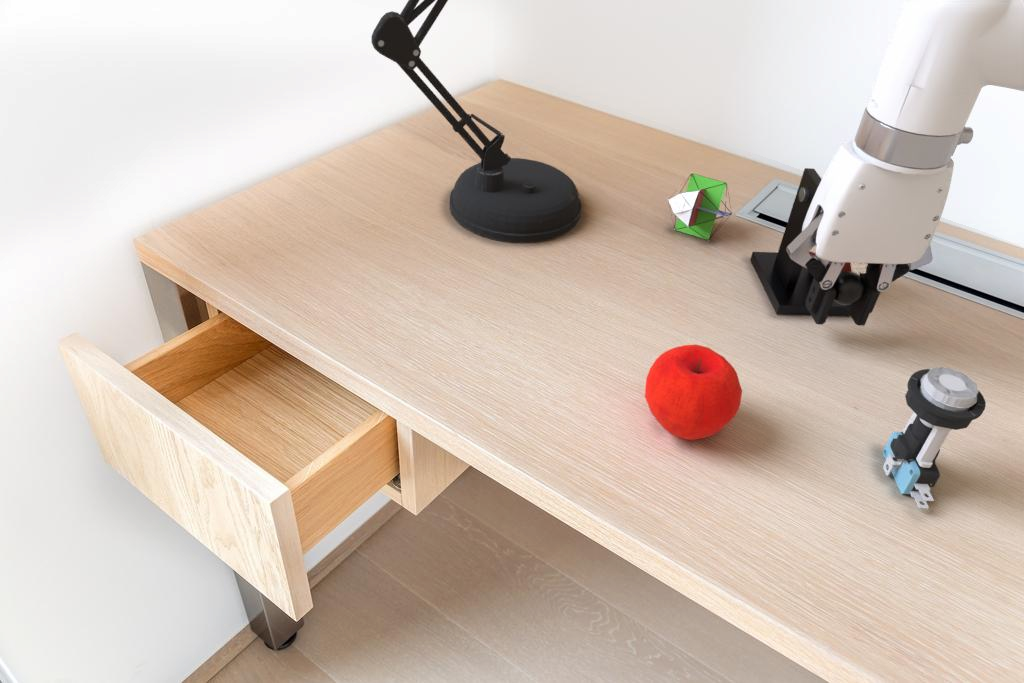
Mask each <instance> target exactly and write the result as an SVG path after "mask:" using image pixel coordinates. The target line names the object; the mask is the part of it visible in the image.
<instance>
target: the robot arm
mask: <svg viewBox="0 0 1024 683" xmlns="http://www.w3.org/2000/svg"><path fill="white" fill-rule="evenodd" d="M986 86H995V87H1001V88H1006V89H1010V90H1015V91H1016V90H1017V91H1020V92H1024V0H903V1H902V4H901V7H900V10H899V13H898V15H897V18H896V20H895V24H894V26H893V29H892V32H891V35H890V38H889V41H888V44H887V47H886V50H885V52H884V55H883V58H882V60H881V64H880V66H879V69H878V71H877V74H876V77H875V80H874V82H873V86H872V89H871V92H870V94H869V98H868V100H867V102H866V106H865V108H864V111H863V114H862V117H861V120H860V122H859V125H858V127H857V131H856V134H855V136H854V139H850V140H849V139H847V140H844V141H843V142H842V144H841V145H840V146H839V148H838V150H837V151H836V152H835V154H834V156H833V158H832V159H831V161H830V163H829V165H828V166H827V168H826V170H825V171H824V174H823V175H822V177H821V179H822V180H821V182H820V184H819V186H818V188H817V191H816V193H815V195H814V197H813V200H812V202H811V205H810V207H809V209H808V212H807V214H806V217H805V220H804V223H803V227H802V232H801V233H800V234H799V235H798V236H797V237H796V238H795V239H794V240H793V241H792V242H791V243H790V244H789V245H788V246H787V248H786V251H787V253H788V255H789V257H790V258H791V259H792V260H793V261H795V262H796V263H798V264H799V265H801V266H804V267H805V268H807V269H808V271H809V272H810V273H811V275H812V276H813V277H814V279H813V282H812V284H811V287H810V290H809V293H808V295H807V298H806V308H807V310H808V311H809V312H810V314H811V315H810V316H811V317H812V319H813V321H814V323H815V325H824V324H825V323H826V321H827V319H828V317H829V316H828V314H829V311H830V308H831V306H832V303H833V301H834V298H835V296H836V290H835V288H834V286H833V285H834V283H835V281H836V279H837V278H838V276H839V274H840V272H841V270H842V268H843V266H844V264H845V263H846V262H849V263H851V264H852V263H853V264H867V265H866V269H865V273H864V272H863V273H862V272H861V273H859V275H860V276H861V277H862V279H863V280H864V283H865V293H864V295H863V297H862V298H861V299H860V300H859V301H858V302H856V303H854V304H852V305H846V309H847V311H848V312H849V314H850V315H851V316H850V318H852V321H853V322H854V324H855V325H856V326H860V327H861V326H863V327H864V326H865V325H866V323H867V320H868V318H869V315H870V314H872V313H873V311H874V308H875V306H876V304H877V301H878V299H879V297H880V294H881V293H883V292H886V291H887V290H889V289H890V287H891V286H892V283H893V282H895V281H896V280H898V279H900V278H901V277H903V276H905V275H906V274H908V273H909V272H910V271H913V270H917V269H919V268H921V267H924V266H927V265H929V264H931V263H932V261H933V252H932V246H931V242H932V240H933V238H934V236H935V233H936V231H937V228H938V226H939V223H940V220H941V218H942V215H943V213H944V209H945V206H946V203H947V200H948V195H949V192H950V188H951V183H952V179H953V173H954V165H955V162H954V161H953V158H952V157H953V156H954V153H955V151H956V149H957V147H958V146H959V145H962V144H965V145H967V144H970V143H971V141H972V140H973V137H974V130H973V128H972V127H970V126H966V124H967V122H968V120H969V118H970V116H971V113H972V111H973V108H974V106H975V104H976V102H977V99H978V97H979V95H980V93H981V91H982V88H984V87H986ZM815 246H816V247H815ZM814 247H815V250H816V252H815V251H814V252H813V251H811V250H812V249H813V248H814ZM814 253H816V255H815V254H814Z"/></svg>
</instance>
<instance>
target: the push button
mask: <svg viewBox="0 0 1024 683" xmlns="http://www.w3.org/2000/svg"><path fill="white" fill-rule="evenodd" d="M906 386H907V391H906V393H905V395H904V397H905V402H906V405H907V407H909V409H911V411H912V414H911V416H910V417H909V420H908V421H907V422H906V423H907V424H906V425H905V426H904V427H903V428H902V430H901V431H892V433H891V434H890V436H889V439H888V440H887V443H886V444H885V446H884V447H883V450H882V455H883V458H884V460H885V461H884V463H883V466H882V469H883V471H884V474H885V475H886V476H887V477H888V476H890V474H892V477H893V479H894V481H895V484H896V486H897V488H898V490H899V492H900V494H901V495H910V496H911V498H913V499H914V501H915V503H916V506H917V507H918V508H919V509H925V510H929V508H930V506H929V505H928V502H934V501H935V499H934V498H933V496H932V493H931V488H934V487H935V486H936V484H937V482H938V481H939V479H940V477H941V471H940V470H939V468H938V466H937V464H936V460H937V458H938V456H939V454H940V451H941V448H942V445H943V444H944V442H945V440H946V439H947V437H948V435H949V434H950V432H951V430H952V431H953V430H954V431H957V430H963V429H967V428H968V427H969V426H970V425H971V423H972V421H974V420H977V419H978V418H981V416H982V414H983V413H984V412H985V409H986V405H987V404H986V400H985V398H984V395H983V394H982V392H981V390H979V388H978V386H977V383H976V382H975V381H974V380H973V379H972V378H971V377H970V376H969V375H967V374H965V373H964V372H962V371H960V370H957V369H954V368H951V367H947V366H935V367H932V368H925V369H920V370H917V371H915V372H914V373H913V374H911V375H910V378H909V379H908V381H907V385H906ZM926 495H927V496H928V497H927V496H926ZM920 502H921V503H923V504H921V503H920Z"/></svg>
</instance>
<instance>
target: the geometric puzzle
mask: <svg viewBox="0 0 1024 683" xmlns="http://www.w3.org/2000/svg"><path fill="white" fill-rule="evenodd" d="M687 182H688V183H687ZM683 184H684V185H683ZM686 184H687V187H686V191H684V192H682V190H684V187H685V186H686ZM681 185H683V186H682V188H681V190H680V191H679V193H677V194H676V195H674V196H671V197H669V198H667V201H668V204H669V205H668V206H669V208H670V209H671V210H672V211H671V212H672V213H673V215H674V216H675V217H674V218H675V219H674V220H673V219H671V220H672V222H675V224H673V231H677V232H679V233H684V234H687V235H691V236H693V237H697V238H700V239H703V240H707V241H708V242H709V241H710V239H711V238H712V237H713V236H714V234H716V230H720V228H721V227H722V226H723V224H721V223H723V220H724V219H725V218H726V217H727V218H726V219H725V220H724V222H726V221H727V220H728V219H729V218H730V216H732V215H733V212H732V211H731V209H729V208H728V207H727V202H725V203H724V201H723V200H722V199H723V196H724V193H725V194H728V196H730V194H729V192H728V189H729V187H728V182H726V181H721V180H718V179H714V178H710V177H706V176H703V175H700V174H697V173H693V172H690V174H689V177H687V179H686V180H685V181H683V182H682V183H681ZM676 192H677V190H675V191H674V192H673V194H675V193H676ZM728 199H729V200H728V201H729V202H731V200H730V198H728ZM721 203H722V204H723V205H724V211H723V210H720V206H721ZM731 206H732V205H730V206H729V207H730V208H732V207H731ZM726 210H728V212H727V211H726ZM717 215H719V216H717ZM670 216H671V217H672V214H671V215H670ZM719 219H722V220H721V221H720V223H719V224H718V226H717V227H716V228H715V230H714V231H713V227H714V224H715V222H716V220H719ZM712 231H713V233H712Z"/></svg>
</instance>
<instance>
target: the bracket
mask: <svg viewBox="0 0 1024 683" xmlns="http://www.w3.org/2000/svg"><path fill="white" fill-rule="evenodd" d="M821 180H822V177H821V176H820V175H819V173H818V172H817V171H816V169H815V168H809V167H806V168H804V170H803V173H802V176H801V178H800V182H799V185H798V188H797V192H796V195H795V197H794V200H793V204H792V207H791V210H790V213H789V217H788V219H787V222H786V226H785V228H784V232H783V235H782V238H781V241H780V245H779V248H778V251H777V252H776V251H774V252H773V251H772V252H771V251H752V253H751V257H750V259H749V260H750V261H749V262H750V263H751V265H752V267H753V269H754V272H755V273H756V275H757V278H758V279H759V281H760V283H761V286H762V288H763V290H764V292H765V294H766V296H767V298H768V300H769V302H770V304H771V306H772V308H773V310H774V312H775V314H776V315H784V316H785V315H787V316H789V315H790V316H812V315H811V314H810V312H809V311H808V310H807V308H806V298H807V295H808V293H809V290H810V287H811V284H812V282H813V279H814V277H813V276H812V275H811V273H810V272H809V271H808V269H807V268H805V267H804V266H801V265H799V264H798V263H796V262H795V261H793V260H792V259H791V258H790V257H789V255H788V253H787V251H786V248H787V246H788V245H789V244H790V243H791V242H792V241H793V240H794V239H795V238H796V237H797V236H798V235H799V234H800V233H801V232H802V227H803V223H804V220H805V217H806V214H807V212H808V209H809V207H810V205H811V202H812V200H813V197H814V195H815V193H816V191H817V188H818V186H819V184H820V182H821ZM815 252H816V249H815V250H814V252H813V253H814V254H815V255H816V253H815ZM827 317H851V315H850V314H849V312H848V311H847V309H846V305H841V304H838V303H837V302H835V301H833V303H832V306H831V308H830V311H829V314H828V316H827Z"/></svg>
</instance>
